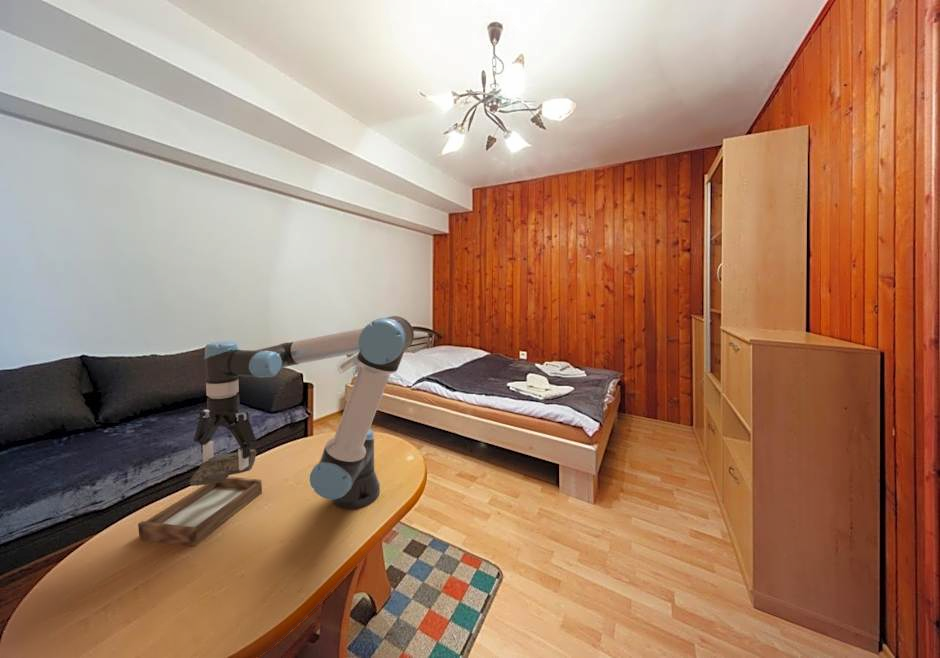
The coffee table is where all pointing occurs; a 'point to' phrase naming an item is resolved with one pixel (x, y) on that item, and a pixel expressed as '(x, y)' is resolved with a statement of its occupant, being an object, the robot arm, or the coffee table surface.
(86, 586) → the coffee table surface
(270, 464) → the coffee table surface
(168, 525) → the wooden tray
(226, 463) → the rock
